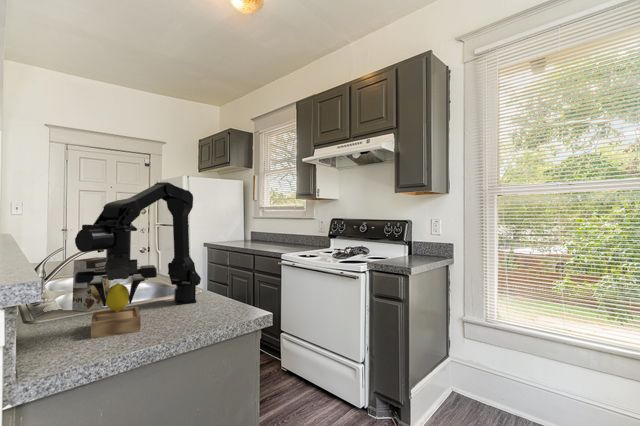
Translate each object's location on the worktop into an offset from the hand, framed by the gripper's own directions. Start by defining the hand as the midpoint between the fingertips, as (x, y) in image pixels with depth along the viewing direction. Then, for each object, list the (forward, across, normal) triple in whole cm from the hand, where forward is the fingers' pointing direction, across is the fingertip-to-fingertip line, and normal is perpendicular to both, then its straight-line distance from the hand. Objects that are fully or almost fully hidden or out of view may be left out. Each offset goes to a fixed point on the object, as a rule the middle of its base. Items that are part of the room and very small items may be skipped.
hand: (117, 304), depth 92 cm
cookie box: (+7, -7, +26) cm, 28 cm away
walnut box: (+7, 0, 0) cm, 7 cm away
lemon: (+2, 0, 0) cm, 2 cm away
